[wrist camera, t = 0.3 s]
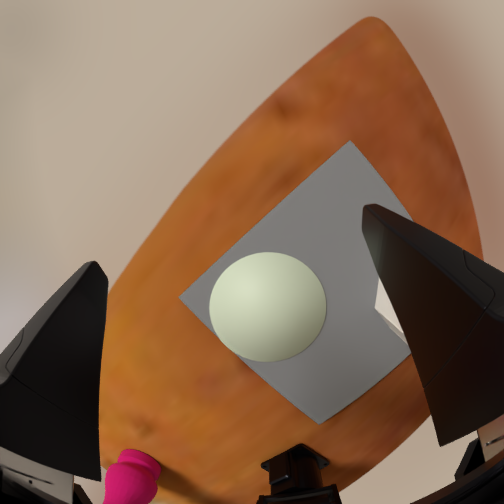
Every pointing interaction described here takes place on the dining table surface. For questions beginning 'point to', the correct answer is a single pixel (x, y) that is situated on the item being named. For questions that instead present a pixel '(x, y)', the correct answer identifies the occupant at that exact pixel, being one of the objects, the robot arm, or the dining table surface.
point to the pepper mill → (132, 479)
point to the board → (307, 291)
